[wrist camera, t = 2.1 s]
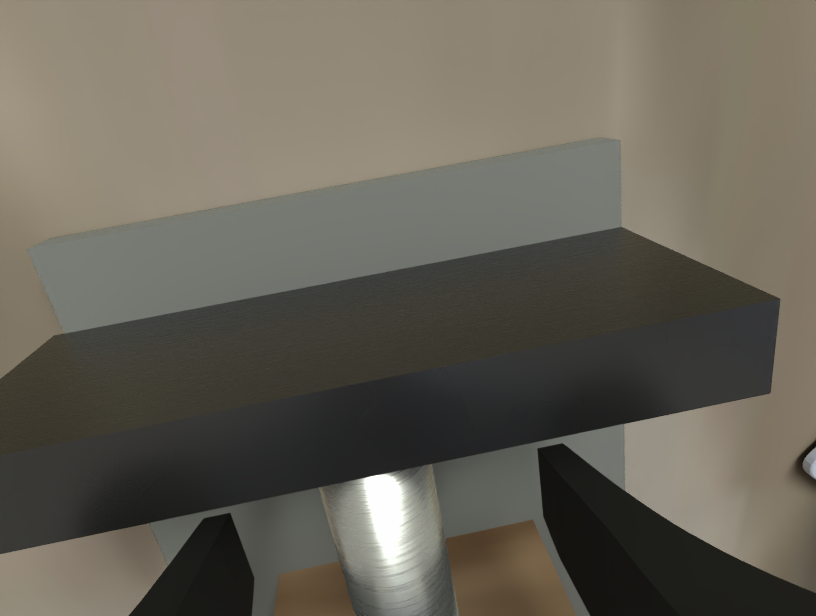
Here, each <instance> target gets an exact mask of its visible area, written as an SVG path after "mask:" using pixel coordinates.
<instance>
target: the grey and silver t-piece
mask: <svg viewBox="0 0 816 616" xmlns="http://www.w3.org/2000/svg"><path fill="white" fill-rule="evenodd" d="M779 307H780V299H779V298H777V297H775V296H773V295H771V294H768V293H766V292H764V291H762V290H760V289H757V288H755V287H753V286H751V285H748V284H746V283H744V282H742V281H740V280H737V279H735V278H733V277H731V276H729V275H726V274H724V273H722V272H720V271H717V270H715V269H713V268H711V267H709V266H706V265H704V264H702V263H700V262H698V261H695V260H693V259H691V258H689V257H686V256H684V255H682V254H680V253H678V252H675V251H673V250H671V249H669V248H667V247H664V246H662V245H660V244H658V243H656V242H653V241H651V240H649V239H647V238H644V237H642V236H640V235H638V234H636V233H633V232H631V231H629V230H627V229H625V228H622V227H618V228H613V229H608V230H603V231H597V232H592V233H587V234H582V235H576V236H571V237H566V238H561V239H556V240H550V241H545V242H540V243H535V244H529V245H524V246H519V247H514V248H509V249H503V250H498V251H493V252H488V253H483V254H477V255H472V256H467V257H462V258H456V259H451V260H446V261H441V262H436V263H430V264H425V265H420V266H415V267H409V268H404V269H399V270H394V271H389V272H383V273H378V274H373V275H368V276H362V277H357V278H352V279H347V280H342V281H336V282H331V283H326V284H321V285H316V286H310V287H305V288H300V289H295V290H289V291H284V292H279V293H274V294H269V295H263V296H258V297H253V298H248V299H242V300H237V301H232V302H227V303H222V304H216V305H211V306H206V307H201V308H196V309H190V310H185V311H180V312H175V313H169V314H164V315H159V316H154V317H149V318H143V319H138V320H133V321H128V322H122V323H117V324H112V325H107V326H102V327H96V328H91V329H86V330H81V331H76V332H70V333H65V334H60V335H55V336H53V337H52V338H51V339H49V340H48V341H47V342H46V343H44V344H43V345H42V346H41V347H39V348H38V349H37V350H36V351H35V352H33V353H32V354H31V355H30V356H28V357H27V358H26V359H25V360H23V361H22V362H21V363H20V364H18V365H17V366H16V367H15V368H14V369H12V370H11V371H10V372H9V373H7V374H6V375H5V376H4V377H2V378H1V379H0V554H3V553H8V552H12V551H17V550H22V549H27V548H32V547H36V546H41V545H46V544H51V543H56V542H60V541H65V540H70V539H75V538H79V537H84V536H89V535H94V534H99V533H103V532H108V531H113V530H118V529H123V528H127V527H132V526H137V525H142V524H147V523H151V522H156V521H161V520H166V519H170V518H175V517H180V516H185V515H190V514H194V513H199V512H204V511H209V510H214V509H218V508H223V507H228V506H233V505H238V504H242V503H247V502H252V501H257V500H262V499H266V498H271V497H276V496H281V495H285V494H290V493H295V492H300V491H305V490H309V489H314V488H319V491H320V494H321V498H322V501H323V505H324V509H325V512H326V516H327V519H328V523H329V526H330V530H331V533H332V537H333V540H334V544H335V547H336V551H337V554H338V558H339V561H340V565H341V569H342V572H343V576H344V579H345V583H346V586H347V590H348V593H349V597H350V600H351V604H352V607H353V611H354V614H355V616H459V612H458V606H457V601H456V595H455V590H454V584H453V578H452V573H451V567H450V562H449V556H448V551H447V545H446V539H445V534H444V528H443V523H442V517H441V512H440V506H439V500H438V495H437V489H436V484H435V478H434V473H433V467H432V464H434V463H439V462H444V461H448V460H453V459H458V458H463V457H467V456H472V455H477V454H482V453H487V452H491V451H496V450H501V449H506V448H511V447H515V446H520V445H525V444H530V443H535V442H539V441H544V440H549V439H554V438H558V437H563V436H568V435H573V434H578V433H582V432H587V431H592V430H597V429H602V428H606V427H611V426H616V425H621V424H626V423H630V422H635V421H640V420H645V419H650V418H654V417H659V416H664V415H669V414H673V413H678V412H683V411H688V410H693V409H697V408H702V407H707V406H712V405H717V404H721V403H726V402H731V401H736V400H741V399H745V398H750V397H755V396H760V395H764V394H769V393H770V392H771V383H772V373H773V364H774V354H775V345H776V335H777V326H778V317H779Z"/></svg>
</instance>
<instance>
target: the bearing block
mask: <svg viewBox="0 0 816 616" xmlns="http://www.w3.org/2000/svg"><path fill="white" fill-rule="evenodd" d="M445 539H446V545H447V551H448V556H449V562H450V567H451V573H452V578H453V584H454V590H455V595H456V601H457V606H458V612H459V616H576V614H575V612H574V609H573V607H572V605H571V603H570V601H569V598H568V596H567V594H566V592H565V590H564V587H563V585H562V583H561V581H560V579H559V576H558V574H557V572H556V570H555V567H554V565H553V563H552V561H551V559H550V556H549V554H548V552H547V550H546V548H545V545H544V543H543V541H542V539H541V537H540V534H539V532H538V530H537V528H536V526H535V523H534V521H533V520H528V521H524V522H519V523H515V524H510V525H505V526H501V527H496V528H491V529H487V530H482V531H477V532H473V533H468V534H463V535H459V536H454V537H450V538H445ZM274 616H355V614H354V611H353V607H352V604H351V600H350V597H349V593H348V590H347V586H346V583H345V579H344V576H343V572H342V569H341V565H340V561H338V562H333V563H329V564H324V565H320V566H315V567H310V568H306V569H301V570H296V571H292V572H287V573H282V574H279V580H278V587H277V595H276V602H275V609H274Z"/></svg>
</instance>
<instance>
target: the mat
mask: <svg viewBox="0 0 816 616" xmlns="http://www.w3.org/2000/svg"><path fill="white" fill-rule="evenodd" d="M618 227H621V157H620V140H616V139H609V138H602V137H601V138H596V139H591V140H585V141H580V142H574V143H569V144H563V145H558V146H552V147H547V148H542V149H536V150H531V151H525V152H520V153H514V154H509V155H503V156H498V157H492V158H487V159H482V160H476V161H471V162H465V163H460V164H454V165H449V166H443V167H438V168H433V169H427V170H422V171H416V172H411V173H405V174H400V175H394V176H389V177H384V178H378V179H373V180H367V181H362V182H356V183H351V184H345V185H340V186H334V187H329V188H324V189H318V190H313V191H307V192H302V193H296V194H291V195H285V196H280V197H275V198H269V199H264V200H258V201H253V202H247V203H242V204H236V205H231V206H226V207H220V208H215V209H209V210H204V211H198V212H193V213H187V214H182V215H177V216H171V217H166V218H160V219H155V220H149V221H144V222H138V223H133V224H127V225H122V226H117V227H111V228H106V229H100V230H95V231H89V232H84V233H78V234H73V235H68V236H62V237H57V238H51V239H48V240H46V241H44V242H42V243H39V244H37V245H35V246H33V247H31V248H29V249H27V251H28V253H29V255H30V257H31V260H32V262H33V264H34V266H35V269H36V271H37V273H38V275H39V278H40V280H41V282H42V284H43V287H44V289H45V291H46V293H47V295H48V298H49V300H50V302H51V304H52V307H53V309H54V311H55V313H56V316H57V318H58V320H59V322H60V325H61V327H62V329H63V331H64V334H65V333H70V332H76V331H81V330H86V329H91V328H96V327H102V326H107V325H112V324H117V323H122V322H128V321H133V320H138V319H143V318H149V317H154V316H159V315H164V314H169V313H175V312H180V311H185V310H190V309H196V308H201V307H206V306H211V305H216V304H222V303H227V302H232V301H237V300H242V299H248V298H253V297H258V296H263V295H269V294H274V293H279V292H284V291H289V290H295V289H300V288H305V287H310V286H316V285H321V284H326V283H331V282H336V281H342V280H347V279H352V278H357V277H362V276H368V275H373V274H378V273H383V272H389V271H394V270H399V269H404V268H409V267H415V266H420V265H425V264H430V263H436V262H441V261H446V260H451V259H456V258H462V257H467V256H472V255H477V254H483V253H488V252H493V251H498V250H503V249H509V248H514V247H519V246H524V245H529V244H535V243H540V242H545V241H550V240H556V239H561V238H566V237H571V236H576V235H582V234H587V233H592V232H597V231H603V230H608V229H613V228H618ZM561 443H563V444H565V445H566V446H567V447H569V448H570V449H571V450H572V451H574V452H575V453H576V454H577V455H579V456H580V457H581V458H582V459H584V460H585V461H586V462H587V463H589V464H590V465H591V466H593V467H594V468H595V469H596V470H598V471H599V472H600V473H602V474H603V475H604V476H605V477H607V478H608V479H609V480H611V481H612V482H613V483H615V484H616V485H617V486H619V487H620V488H622V489H623V490H624V491H625V456H624V424H621V425H616V426H611V427H606V428H602V429H597V430H592V431H587V432H582V433H578V434H573V435H568V436H563V437H558V438H554V439H549V440H544V441H539V442H535V443H530V444H525V445H520V446H515V447H511V448H506V449H501V450H496V451H491V452H487V453H482V454H477V455H472V456H467V457H463V458H458V459H453V460H448V461H444V462H439V463H434V464H432V467H433V473H434V478H435V484H436V489H437V495H438V500H439V506H440V512H441V517H442V523H443V528H444V534H445V538H450V537H454V536H459V535H463V534H468V533H473V532H477V531H482V530H487V529H491V528H496V527H501V526H505V525H510V524H515V523H519V522H524V521H528V520H533V521H534V523H535V526H536V528H537V530H538V532H539V534H540V537H541V539H542V541H543V543H544V545H545V548H546V550H547V552H548V554H549V556H550V559H551V561H552V563H553V565H554V567H555V570H556V572H557V574H558V576H559V579H560V581H561V583H562V585H563V587H564V590H565V592H566V594H567V596H568V598H569V601H570V603H571V605H572V607H573V609H574V612H575V614H576V616H590V614H589V613H588V611H587V609H586V607H585V605H584V603H583V601H582V599H581V598H580V596H579V594H578V592H577V590H576V588H575V586H574V584H573V583H572V581H571V579H570V577H569V575H568V573H567V571H566V569H565V567H564V565H563V563H562V562H561V560H560V558H559V555H558V553H557V550H556V548H555V545H554V543H553V540H552V538H551V535H550V533H549V530H548V527H547V525H546V522H545V520H544V517H543V509H542V497H541V486H540V474H539V463H538V452H537V448H542V447H546V446H551V445H556V444H561ZM226 513H231V516H232V519H233V521H234V524H235V527H236V529H237V532H238V535H239V538H240V540H241V543H242V546H243V548H244V551H245V554H246V556H247V559H248V562H249V565H250V567H251V570H252V573H253V575H254V578H255V579H254V594H253V607H252V616H274V609H275V602H276V595H277V587H278V580H279V574H282V573H287V572H292V571H296V570H301V569H306V568H310V567H315V566H320V565H324V564H329V563H333V562H338V561H339V558H338V554H337V551H336V547H335V544H334V540H333V537H332V533H331V530H330V526H329V523H328V519H327V516H326V512H325V509H324V505H323V501H322V498H321V494H320V491H319V488H314V489H309V490H305V491H300V492H295V493H290V494H285V495H281V496H276V497H271V498H266V499H262V500H257V501H252V502H247V503H242V504H238V505H233V506H228V507H223V508H218V509H214V510H209V511H204V512H199V513H194V514H190V515H185V516H180V517H175V518H170V519H166V520H161V521H156V522H151V523H149V524H150V526H151V528H152V531H153V533H154V535H155V537H156V540H157V542H158V544H159V546H160V549H161V551H162V553H163V555H164V558H165V560H166V562H167V564H168V565H169V564H170V563H171V561H172V560H173V559H174V557H175V556H176V555H177V553H178V552H179V550H180V549H181V548H182V546H183V545H184V544H185V542H186V541H187V540H188V538H189V537H190V536H191V534H192V533H193V532H194V530H195V529H196V528H197V526H198V525H199V524H200V522H201V521H202V520H203V519H204V518H207V517H212V516H217V515H222V514H226Z"/></svg>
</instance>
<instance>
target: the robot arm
mask: <svg viewBox="0 0 816 616" xmlns="http://www.w3.org/2000/svg"><path fill="white" fill-rule="evenodd" d="M537 452H538V463H539V474H540V486H541V497H542V509H543V517H544V520H545V522H546V525H547V527H548V530H549V533H550V535H551V538H552V540H553V543H554V545H555V548H556V550H557V553H558V555H559V558H560V560H561V562H562V563H563V565H564V567H565V569H566V571H567V573H568V575H569V577H570V579H571V581H572V583H573V584H574V586H575V588H576V590H577V592H578V594H579V596H580V598H581V599H582V601H583V603H584V605H585V607H586V609H587V611H588V613H589V614H590V616H816V593H814V592H812V591H809V590H807V589H804V588H801V587H799V586H797V585H794V584H792V583H790V582H787V581H785V580H783V579H780V578H778V577H776V576H773V575H771V574H769V573H767V572H765V571H763V570H760V569H758V568H756V567H754V566H752V565H750V564H748V563H745V562H743V561H741V560H739V559H737V558H735V557H733V556H731V555H729V554H727V553H725V552H723V551H721V550H719V549H717V548H716V547H714V546H712V545H710V544H708V543H706V542H705V541H703V540H701V539H699V538H697V537H696V536H694V535H692V534H690V533H688V532H687V531H685V530H683V529H682V528H680V527H678V526H676V525H675V524H673V523H672V522H670V521H668V520H667V519H665V518H664V517H662V516H661V515H659V514H658V513H656V512H655V511H653V510H651V509H650V508H649V507H647V506H646V505H644V504H643V503H641V502H640V501H638V500H637V499H636V498H634V497H633V496H631V495H630V494H629V493H627V492H626V491H624V490H623V489H622V488H620V487H619V486H617V485H616V484H615V483H613V482H612V481H611V480H609V479H608V478H607V477H605V476H604V475H603V474H602V473H600V472H599V471H598V470H596V469H595V468H594V467H593V466H591V465H590V464H589V463H587V462H586V461H585V460H584V459H582V458H581V457H580V456H579V455H577V454H576V453H575V452H574V451H572V450H571V449H570V448H569V447H567V446H566V445H565V444H563V443H561V444H556V445H551V446H546V447H542V448H537ZM803 469H804V470H805V472H807V473H808V474H809V475H810V476H812V477H813V478H814V479H816V447H815V448H814V449H813V450H812V451H811V452H810V453H809V454H808V455H807V456H806V457H805V459H804V461H803ZM254 579H255V578H254V575H253V573H252V570H251V567H250V565H249V562H248V559H247V556H246V554H245V551H244V548H243V546H242V543H241V540H240V538H239V535H238V532H237V529H236V527H235V524H234V521H233V519H232V516H231V513H226V514H222V515H217V516H212V517H207V518H204V519H203V520H202V521H201V522H200V524H199V525H198V526H197V528H196V529H195V530H194V532H193V533H192V534H191V536H190V537H189V538H188V540H187V541H186V542H185V544H184V545H183V546H182V548H181V549H180V550H179V552H178V553H177V555H176V556H175V557H174V559H173V560H172V561H171V563H170V564H169V565H168V567H167V568H166V569H165V571H164V572H163V573H162V575H161V576H160V577H159V578H158V580H157V581H156V582H155V584H154V585H153V586H152V588H151V589H150V590H149V591H148V593H147V594H146V595H145V597H144V598H143V599H142V600H141V602H140V603H139V604H138V605H137V606H136V608H135V609H134V610H133V611H132V612H131V614H130V615H129V616H252V607H253V594H254Z"/></svg>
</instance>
